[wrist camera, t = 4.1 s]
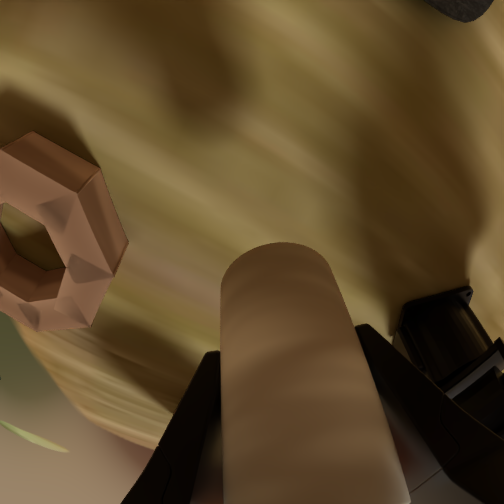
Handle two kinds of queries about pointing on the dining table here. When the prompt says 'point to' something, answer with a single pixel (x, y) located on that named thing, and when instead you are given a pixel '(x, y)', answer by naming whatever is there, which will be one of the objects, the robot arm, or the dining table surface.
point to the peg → (298, 389)
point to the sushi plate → (461, 8)
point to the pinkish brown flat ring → (58, 235)
